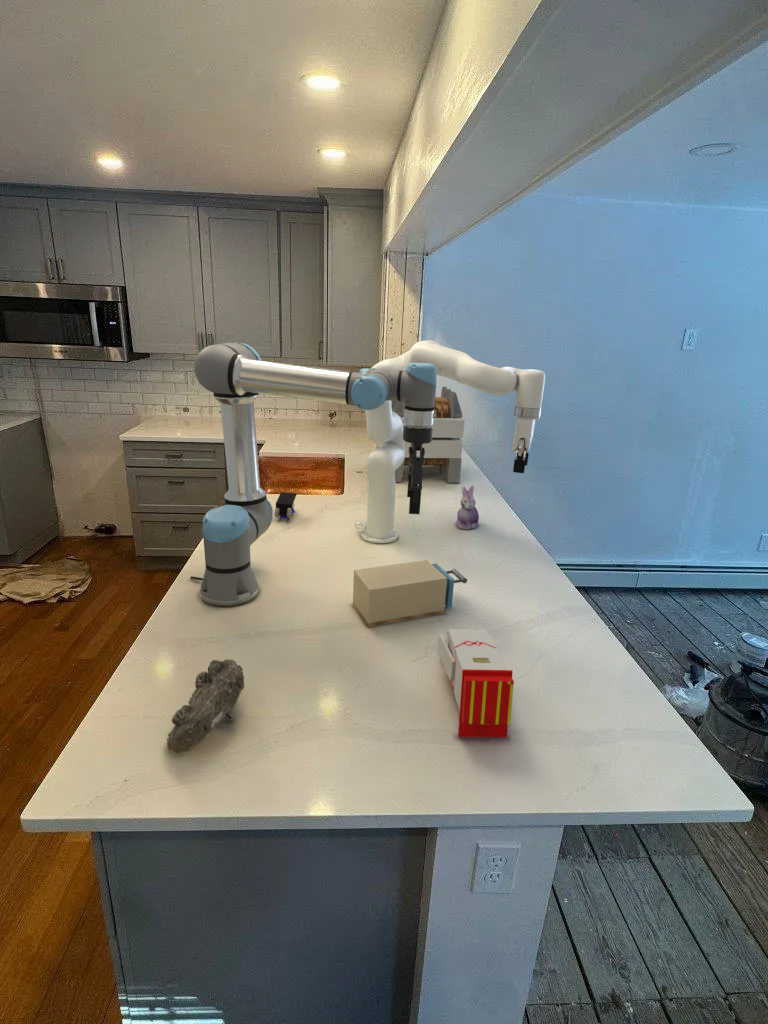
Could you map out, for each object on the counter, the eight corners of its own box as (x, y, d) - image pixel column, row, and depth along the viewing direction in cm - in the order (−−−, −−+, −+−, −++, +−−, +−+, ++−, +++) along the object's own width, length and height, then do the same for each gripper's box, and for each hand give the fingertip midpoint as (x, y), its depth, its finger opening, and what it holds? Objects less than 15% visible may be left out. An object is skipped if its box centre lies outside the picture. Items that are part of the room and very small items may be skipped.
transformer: (382, 463, 289) (386, 382, 275) (445, 464, 293) (451, 384, 279) (390, 482, 257) (394, 392, 243) (460, 483, 261) (468, 394, 247)
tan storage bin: (424, 593, 159) (427, 559, 155) (444, 613, 149) (447, 578, 145) (352, 605, 151) (353, 569, 147) (368, 627, 141) (369, 589, 137)
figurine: (464, 531, 204) (468, 492, 199) (448, 522, 212) (452, 484, 207) (485, 528, 208) (490, 489, 203) (469, 519, 217) (473, 481, 212)
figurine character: (292, 527, 205) (297, 509, 218) (292, 508, 201) (297, 491, 215) (273, 526, 205) (280, 508, 218) (273, 507, 201) (279, 490, 215)
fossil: (192, 660, 117) (244, 628, 112) (224, 691, 120) (276, 661, 115) (142, 746, 98) (202, 712, 93) (182, 779, 101) (242, 748, 96)
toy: (488, 613, 130) (523, 677, 101) (484, 667, 133) (517, 744, 104) (435, 612, 130) (455, 676, 101) (432, 666, 133) (451, 743, 103)
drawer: (450, 587, 161) (452, 560, 158) (468, 604, 152) (471, 576, 149) (367, 600, 151) (368, 572, 149) (381, 619, 142) (382, 590, 140)
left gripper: (437, 437, 132) (430, 522, 139) (429, 417, 156) (424, 491, 163) (404, 435, 132) (399, 520, 139) (402, 416, 155) (398, 490, 163)
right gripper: (517, 407, 176) (511, 460, 182) (510, 416, 161) (504, 474, 166) (542, 409, 174) (535, 463, 180) (538, 418, 159) (530, 477, 164)
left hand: (413, 505), depth 151 cm, fingers open, 13 cm apart
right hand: (520, 468), depth 173 cm, fingers open, 9 cm apart
